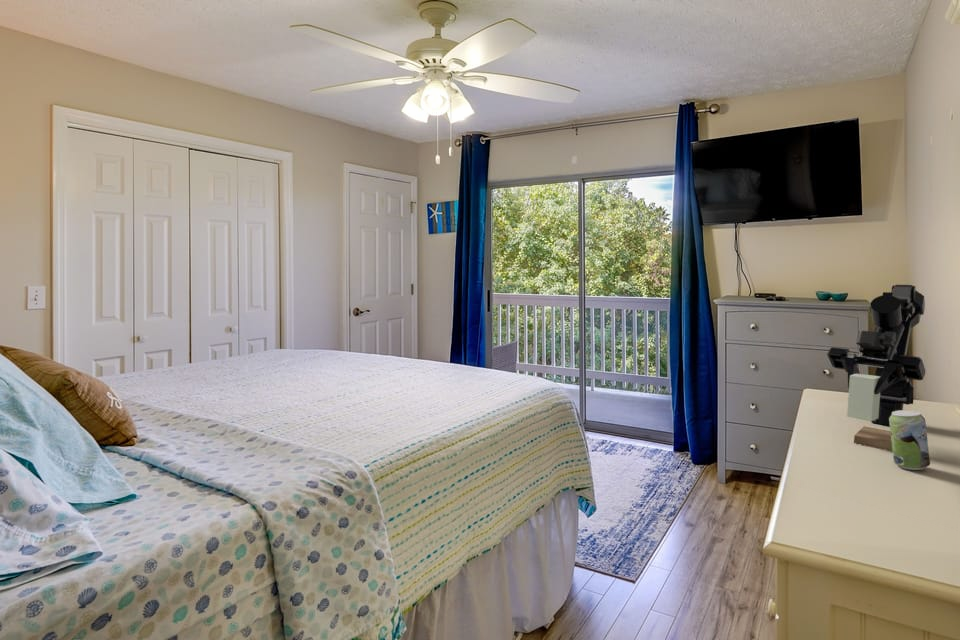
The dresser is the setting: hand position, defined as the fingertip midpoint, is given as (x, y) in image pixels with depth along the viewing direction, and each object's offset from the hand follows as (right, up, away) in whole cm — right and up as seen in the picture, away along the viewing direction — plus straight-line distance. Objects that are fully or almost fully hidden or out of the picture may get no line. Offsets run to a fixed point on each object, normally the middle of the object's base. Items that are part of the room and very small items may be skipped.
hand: (862, 391), depth 129 cm
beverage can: (+1, -15, -13) cm, 19 cm away
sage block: (+1, -6, +2) cm, 7 cm away
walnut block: (+7, -13, +3) cm, 15 cm away
